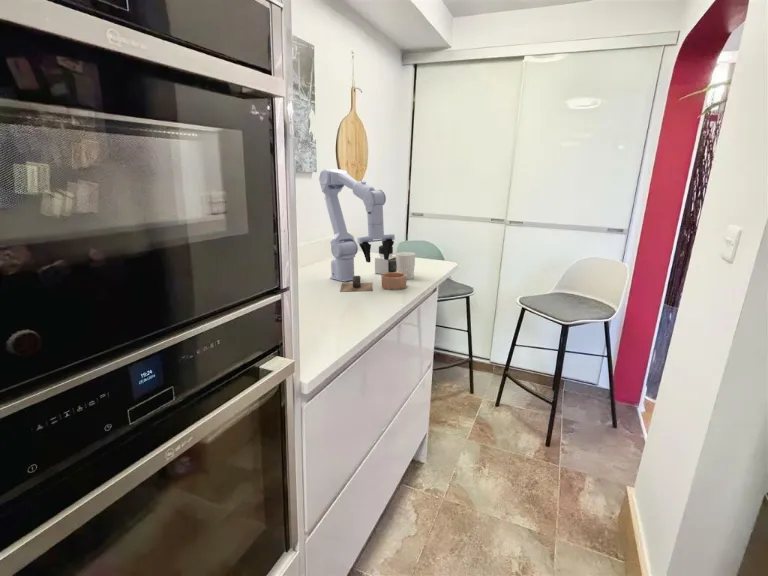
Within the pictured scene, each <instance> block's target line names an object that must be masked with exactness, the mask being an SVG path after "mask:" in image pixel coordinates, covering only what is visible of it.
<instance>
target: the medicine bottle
mask: <svg viewBox="0 0 768 576" xmlns="http://www.w3.org/2000/svg"><path fill="white" fill-rule="evenodd" d="M393 251H394V247H393V246H392V248H391V250H390V254H389V259H388V260H385V259H384V250H383V244H381V245H379V246H378V255H377V256H375V257H374V273H375V274H376V273H378V274H379V275H381V274H385V273H392V272H397V265H396V255H394V252H393Z"/></svg>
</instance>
